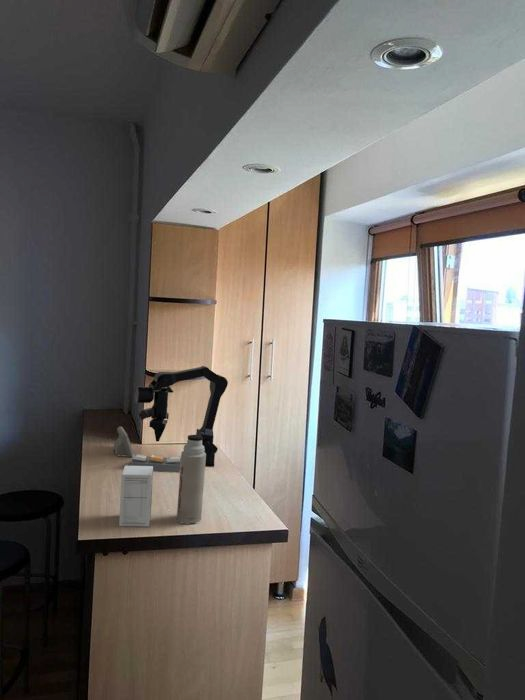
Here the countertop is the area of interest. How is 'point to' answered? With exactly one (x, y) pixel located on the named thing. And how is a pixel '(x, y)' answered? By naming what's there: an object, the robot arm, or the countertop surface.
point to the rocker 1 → (139, 457)
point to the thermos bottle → (191, 480)
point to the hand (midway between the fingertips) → (158, 439)
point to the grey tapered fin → (123, 444)
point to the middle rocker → (156, 458)
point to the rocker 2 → (173, 459)
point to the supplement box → (136, 496)
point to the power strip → (158, 464)
